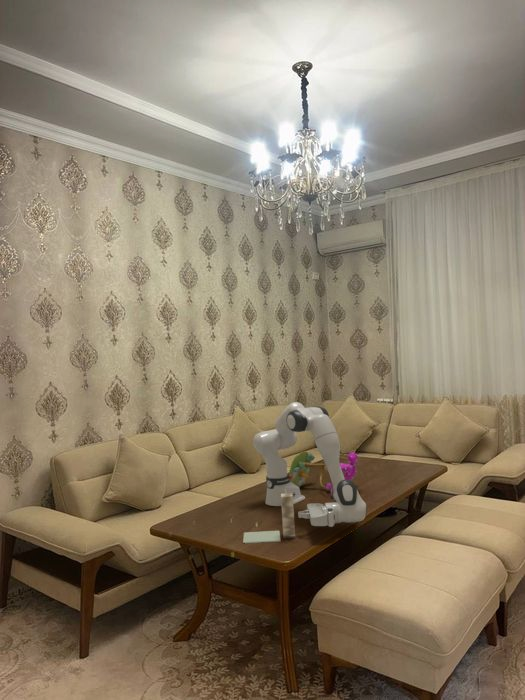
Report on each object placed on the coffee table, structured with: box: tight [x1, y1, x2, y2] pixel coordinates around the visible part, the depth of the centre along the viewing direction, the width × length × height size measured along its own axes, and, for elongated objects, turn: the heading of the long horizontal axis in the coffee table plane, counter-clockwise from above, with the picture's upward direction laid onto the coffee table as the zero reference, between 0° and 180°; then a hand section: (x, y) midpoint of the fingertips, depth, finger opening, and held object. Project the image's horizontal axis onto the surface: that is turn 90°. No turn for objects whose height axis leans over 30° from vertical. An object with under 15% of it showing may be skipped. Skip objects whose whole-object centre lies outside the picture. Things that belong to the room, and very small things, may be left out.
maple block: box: [281, 493, 296, 539], centre depth 230 cm, size 5×5×18 cm
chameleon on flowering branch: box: [287, 451, 358, 496], centre depth 296 cm, size 30×28×35 cm
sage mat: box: [242, 530, 281, 544], centre depth 230 cm, size 16×12×1 cm
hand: (298, 514), depth 230 cm, fingers closed
